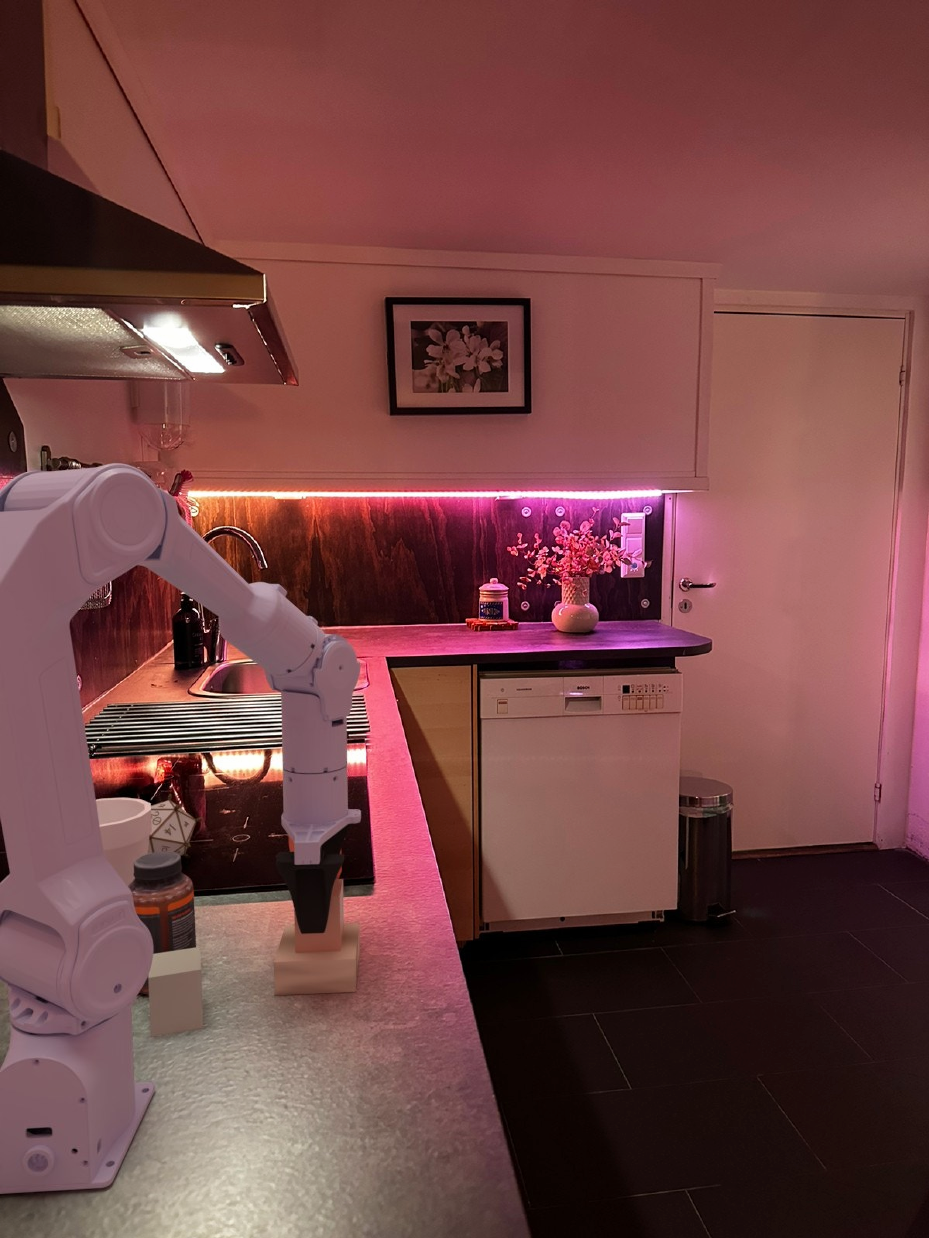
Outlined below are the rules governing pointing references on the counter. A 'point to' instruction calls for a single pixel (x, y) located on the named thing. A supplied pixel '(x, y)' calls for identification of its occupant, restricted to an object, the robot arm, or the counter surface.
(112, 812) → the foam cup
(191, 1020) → the beige block
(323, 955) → the birch slab
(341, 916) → the terracotta block
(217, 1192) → the counter surface
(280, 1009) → the counter surface
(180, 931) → the supplement bottle
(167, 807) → the game die
